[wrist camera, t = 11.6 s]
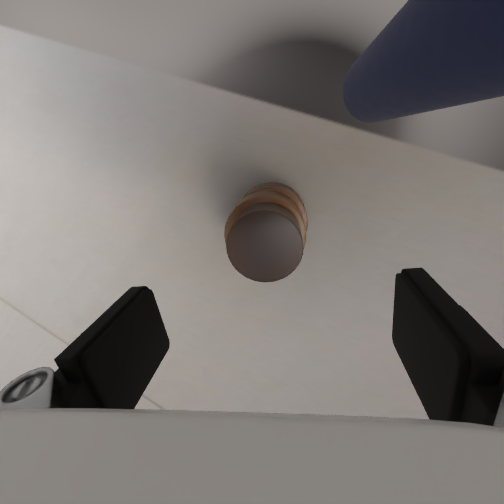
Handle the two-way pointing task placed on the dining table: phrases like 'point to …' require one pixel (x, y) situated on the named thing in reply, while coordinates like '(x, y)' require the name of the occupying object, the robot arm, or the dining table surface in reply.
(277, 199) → the pile chip top
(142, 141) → the dining table surface
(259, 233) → the walnut chip
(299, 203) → the pile chip bottom
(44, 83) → the dining table surface
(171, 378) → the dining table surface
